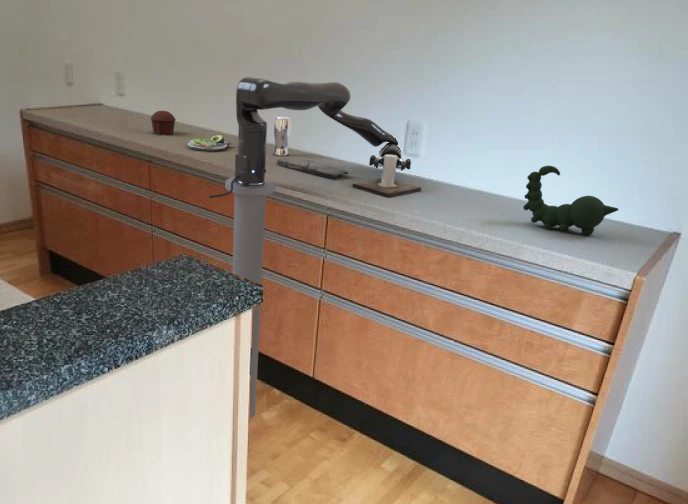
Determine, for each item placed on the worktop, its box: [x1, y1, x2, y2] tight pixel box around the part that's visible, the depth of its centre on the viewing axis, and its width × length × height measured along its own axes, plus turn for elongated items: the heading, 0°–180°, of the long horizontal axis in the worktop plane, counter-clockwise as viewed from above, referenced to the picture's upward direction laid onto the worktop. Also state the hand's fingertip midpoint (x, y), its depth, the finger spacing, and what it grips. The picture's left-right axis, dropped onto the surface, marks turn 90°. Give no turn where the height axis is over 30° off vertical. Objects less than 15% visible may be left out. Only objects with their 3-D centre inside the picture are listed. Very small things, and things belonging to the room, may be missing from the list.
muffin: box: [150, 110, 176, 136], centre depth 280 cm, size 12×11×10 cm
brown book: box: [352, 177, 422, 198], centre depth 211 cm, size 18×16×1 cm
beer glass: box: [273, 116, 292, 157], centre depth 251 cm, size 7×7×15 cm
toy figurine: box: [523, 165, 619, 236], centre depth 174 cm, size 9×19×25 cm
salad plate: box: [187, 134, 232, 152], centre depth 255 cm, size 19×18×5 cm
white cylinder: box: [380, 154, 397, 186], centre depth 208 cm, size 4×4×10 cm
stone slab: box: [276, 157, 349, 181], centre depth 229 cm, size 10×3×30 cm
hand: (389, 166), depth 206 cm, fingers open, 8 cm apart
